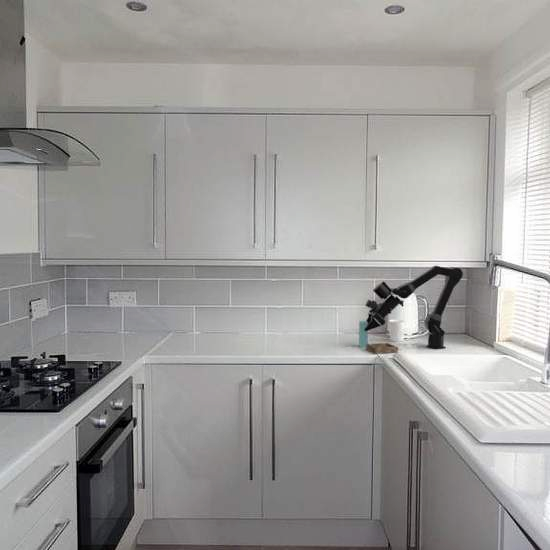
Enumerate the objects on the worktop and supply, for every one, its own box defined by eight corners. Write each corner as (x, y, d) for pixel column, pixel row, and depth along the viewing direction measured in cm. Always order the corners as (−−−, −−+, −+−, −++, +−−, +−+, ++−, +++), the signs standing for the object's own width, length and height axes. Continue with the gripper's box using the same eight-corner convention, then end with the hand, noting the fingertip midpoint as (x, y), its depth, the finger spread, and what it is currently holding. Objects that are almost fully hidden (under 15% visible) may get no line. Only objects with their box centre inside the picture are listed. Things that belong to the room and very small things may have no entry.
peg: (366, 345, 249) (366, 321, 248) (367, 347, 245) (367, 322, 244) (359, 345, 249) (359, 321, 249) (359, 347, 245) (360, 322, 244)
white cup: (404, 339, 265) (405, 320, 265) (404, 342, 258) (404, 322, 257) (389, 338, 267) (389, 319, 267) (388, 341, 260) (388, 321, 259)
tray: (387, 348, 244) (387, 343, 244) (397, 352, 234) (398, 347, 234) (366, 349, 241) (366, 344, 241) (375, 354, 231) (375, 348, 231)
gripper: (373, 292, 254) (350, 314, 256) (378, 296, 236) (353, 319, 237) (389, 308, 254) (366, 330, 256) (395, 313, 236) (370, 337, 237)
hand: (364, 328), depth 247 cm, fingers open, 9 cm apart
